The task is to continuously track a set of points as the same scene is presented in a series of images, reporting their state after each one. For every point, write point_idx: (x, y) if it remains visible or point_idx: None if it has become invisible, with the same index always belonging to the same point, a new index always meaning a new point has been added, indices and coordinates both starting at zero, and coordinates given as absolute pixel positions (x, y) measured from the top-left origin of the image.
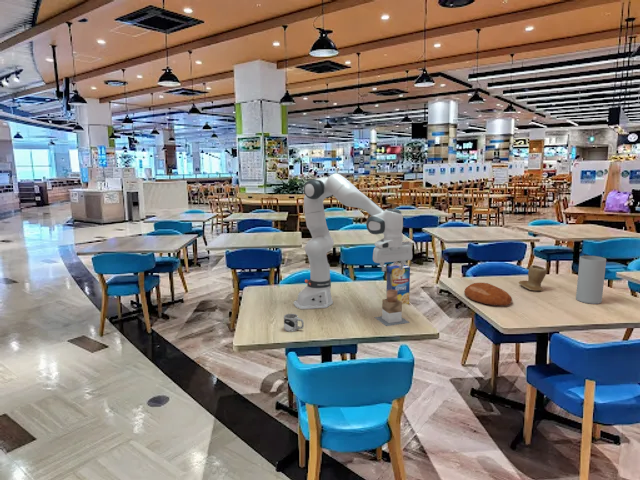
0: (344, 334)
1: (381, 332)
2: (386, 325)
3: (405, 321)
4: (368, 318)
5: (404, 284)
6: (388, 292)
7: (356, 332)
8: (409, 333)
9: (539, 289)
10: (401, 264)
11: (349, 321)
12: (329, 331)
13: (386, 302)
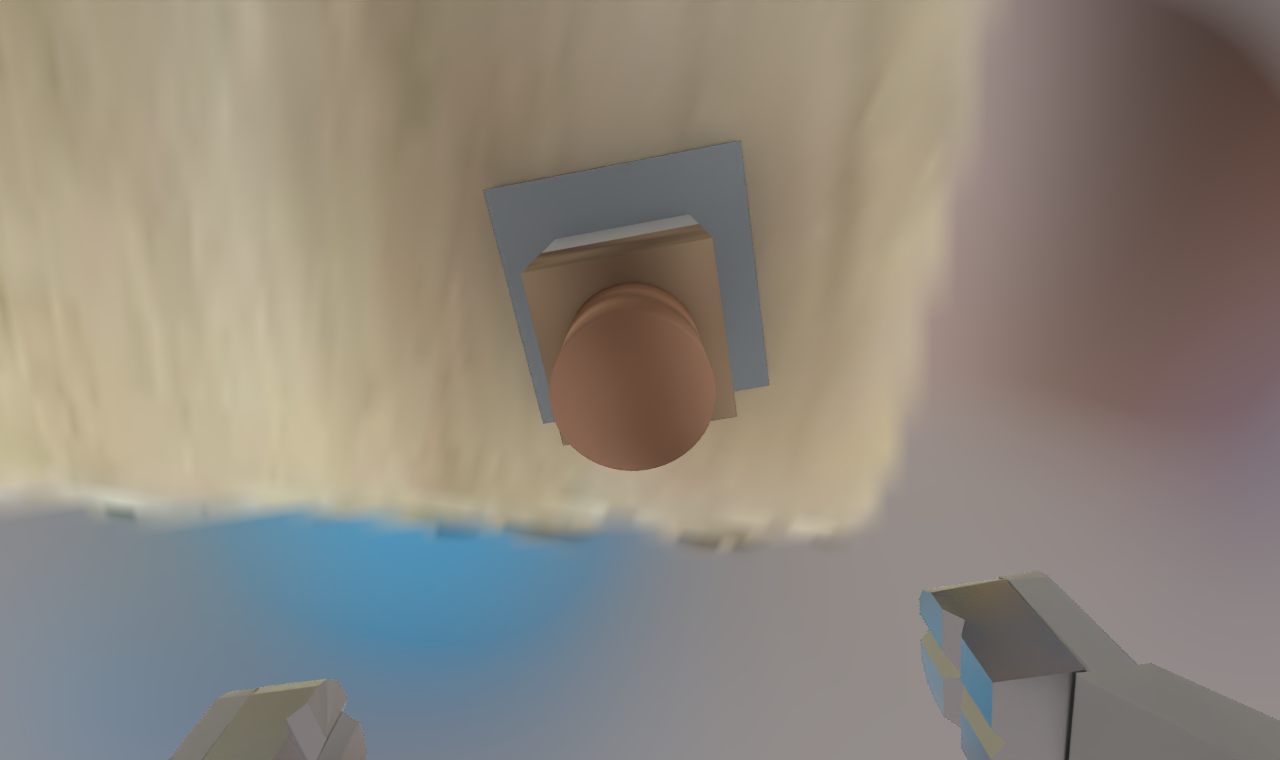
0: (203, 452)
1: (494, 464)
2: (548, 410)
3: (742, 353)
4: (443, 130)
5: None
6: (559, 424)
7: (299, 433)
8: (694, 514)
9: None
10: (1144, 753)
11: (245, 178)
12: (75, 377)
13: (548, 379)
